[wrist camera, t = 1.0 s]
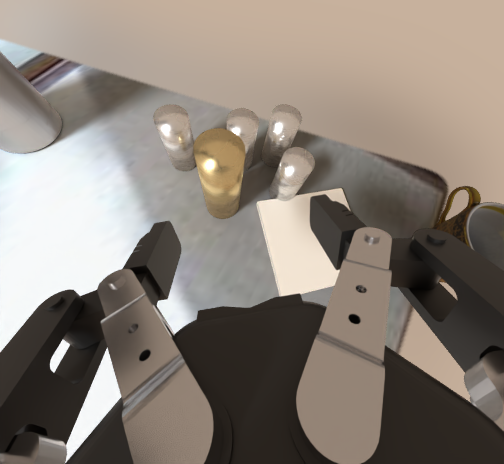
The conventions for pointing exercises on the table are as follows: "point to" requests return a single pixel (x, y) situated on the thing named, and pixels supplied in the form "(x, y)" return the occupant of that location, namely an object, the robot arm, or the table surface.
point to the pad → (297, 244)
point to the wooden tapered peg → (220, 170)
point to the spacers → (245, 126)
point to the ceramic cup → (477, 226)
